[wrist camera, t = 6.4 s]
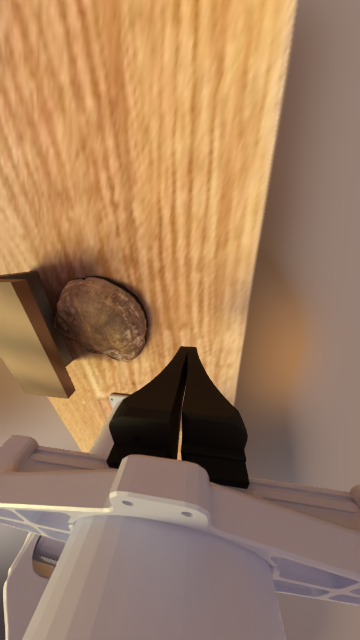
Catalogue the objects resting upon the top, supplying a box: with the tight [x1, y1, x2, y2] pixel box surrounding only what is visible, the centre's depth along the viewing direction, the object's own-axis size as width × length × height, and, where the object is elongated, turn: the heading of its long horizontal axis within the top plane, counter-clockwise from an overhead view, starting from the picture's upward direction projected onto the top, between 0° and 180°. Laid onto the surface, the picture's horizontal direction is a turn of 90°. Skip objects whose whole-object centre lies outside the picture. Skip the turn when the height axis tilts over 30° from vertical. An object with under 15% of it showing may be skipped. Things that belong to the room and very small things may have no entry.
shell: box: [54, 276, 148, 362], centre depth 19 cm, size 12×13×4 cm
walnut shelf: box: [0, 272, 75, 399], centre depth 18 cm, size 14×6×6 cm, turn 1°
